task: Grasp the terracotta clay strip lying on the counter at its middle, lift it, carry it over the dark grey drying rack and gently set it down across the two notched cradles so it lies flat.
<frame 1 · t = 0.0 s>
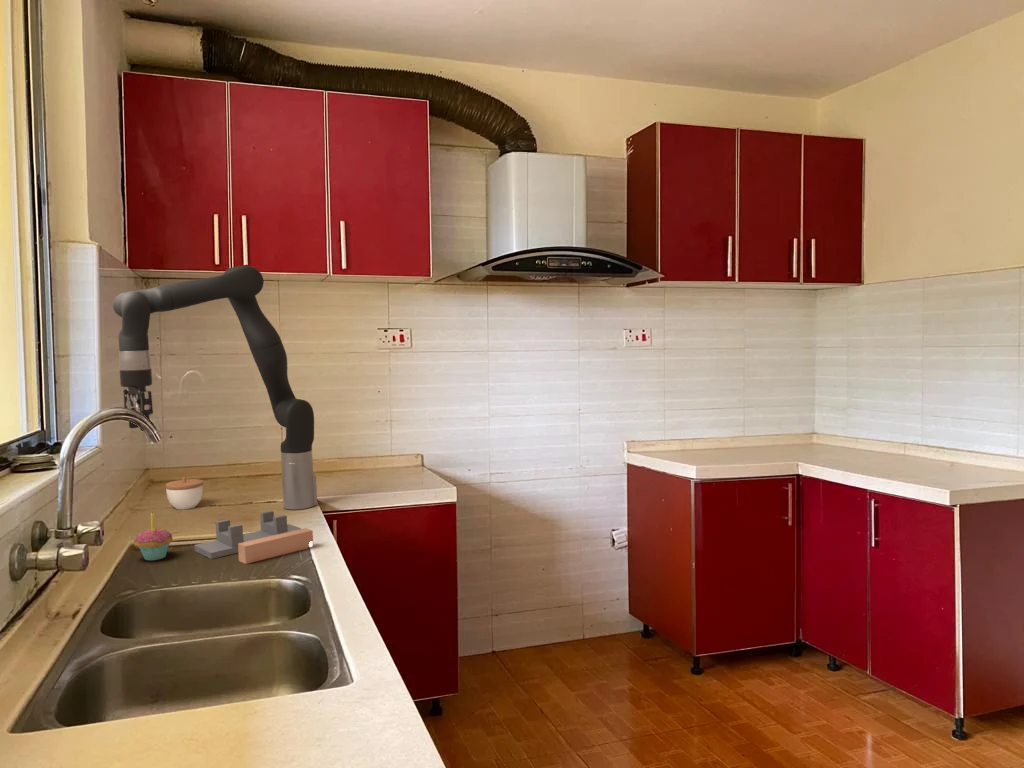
hand: (139, 429, 205), 29 cm above the worktop, fingers open, 8 cm apart
clay strip: (277, 554, 191), on the worktop
lidded jar: (185, 507, 242), on the worktop
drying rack: (252, 543, 200), on the worktop
cupcake: (154, 558, 190), on the worktop
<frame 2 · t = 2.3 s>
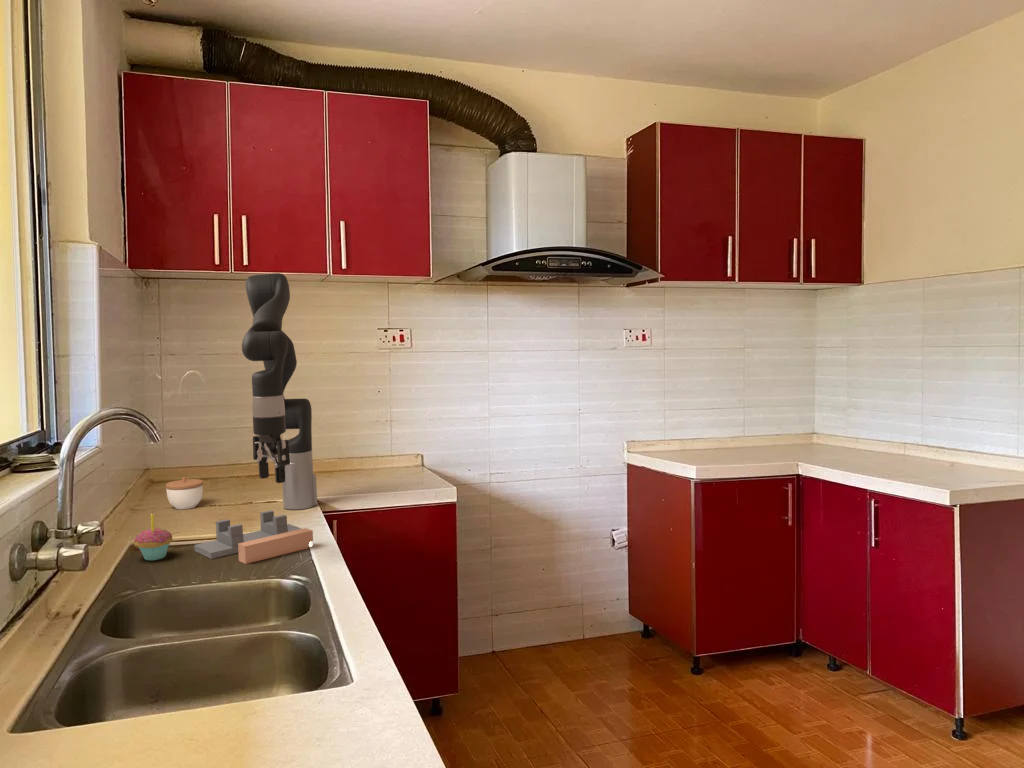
hand: (272, 480, 189), 18 cm above the worktop, fingers open, 8 cm apart
nothing on the worktop moved.
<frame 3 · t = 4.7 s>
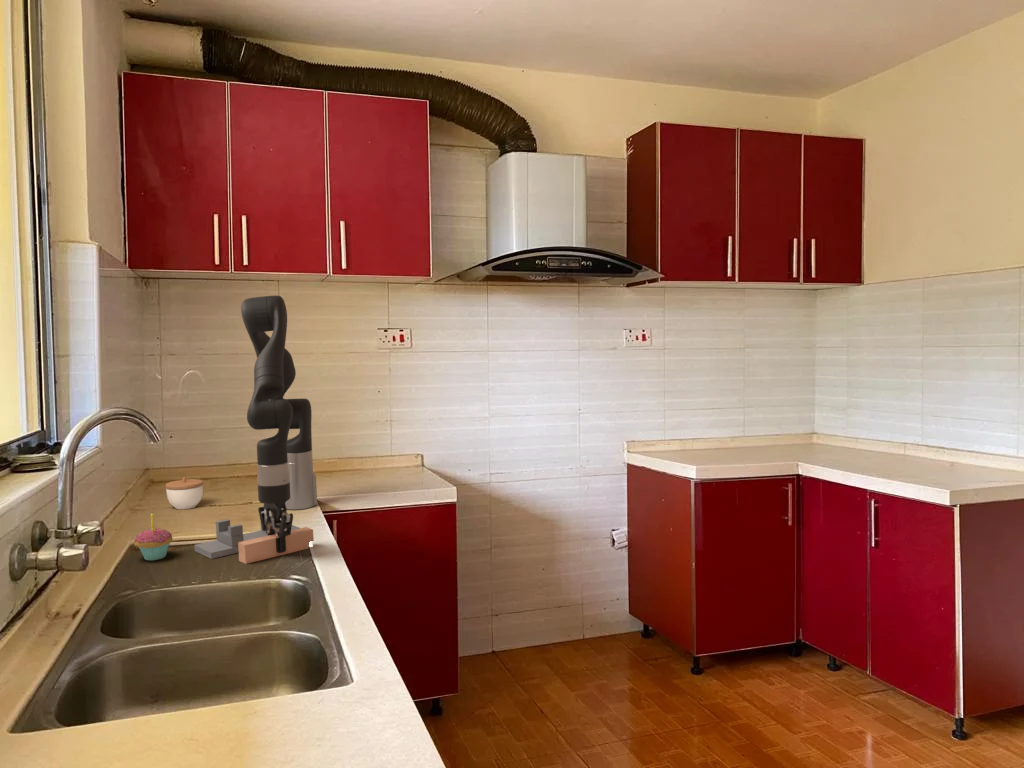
hand: (277, 550, 191), 1 cm above the worktop, fingers closed on clay strip, 3 cm apart
clay strip: (277, 553, 191), on the worktop, touching gripper
everything else where it was.
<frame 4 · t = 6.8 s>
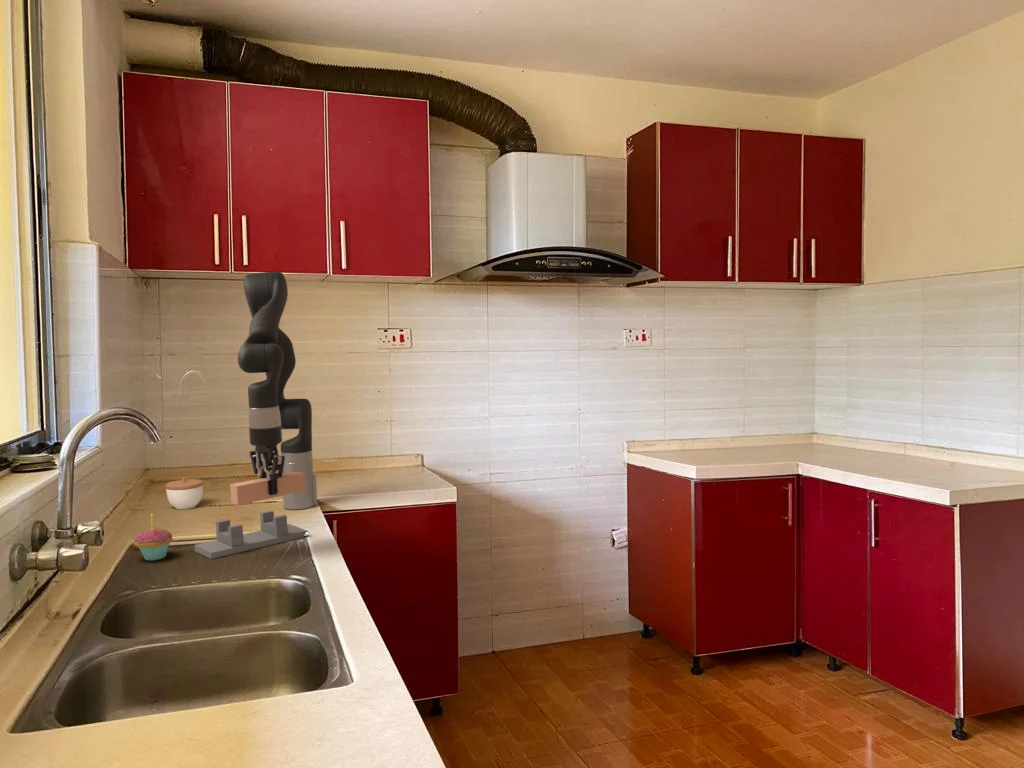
hand: (268, 492, 193), 14 cm above the worktop, fingers closed on clay strip, 3 cm apart
clay strip: (269, 496, 193), point 13 cm above the worktop, touching gripper
everything else where it was.
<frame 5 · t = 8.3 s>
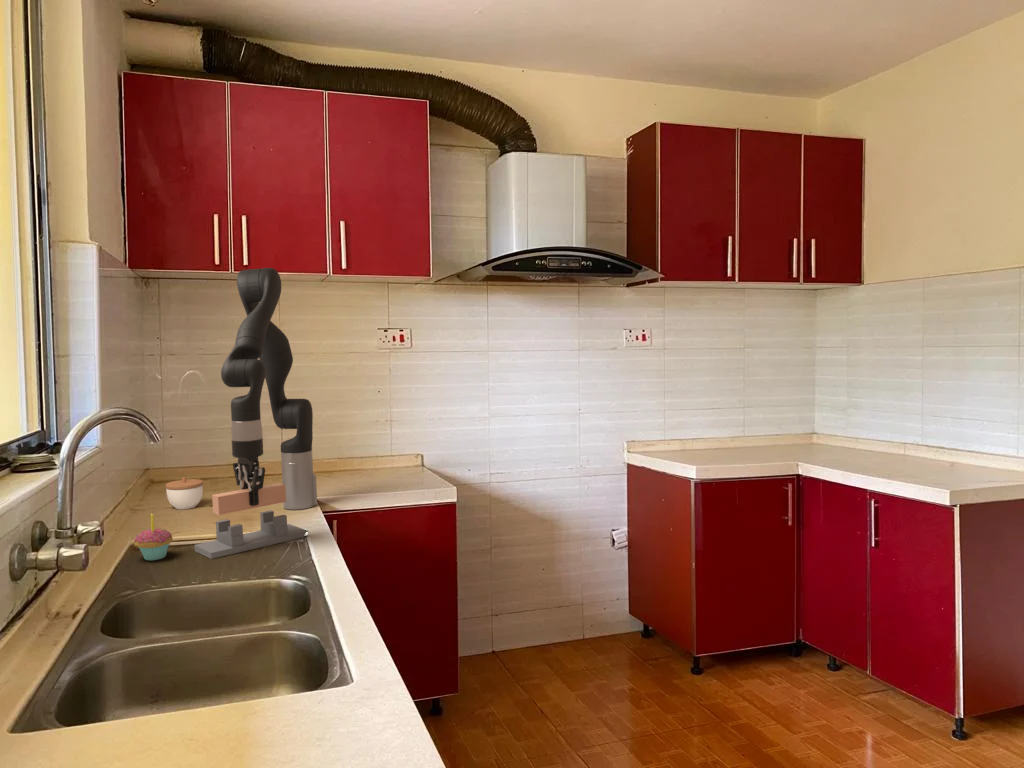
hand: (250, 503, 199), 10 cm above the worktop, fingers closed on clay strip, 3 cm apart
clay strip: (250, 507, 199), point 10 cm above the worktop, touching gripper
everything else where it was.
when the fingers open (6 cm above the worktop, at t = 9.3 s): clay strip drops 1 cm, resting on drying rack.
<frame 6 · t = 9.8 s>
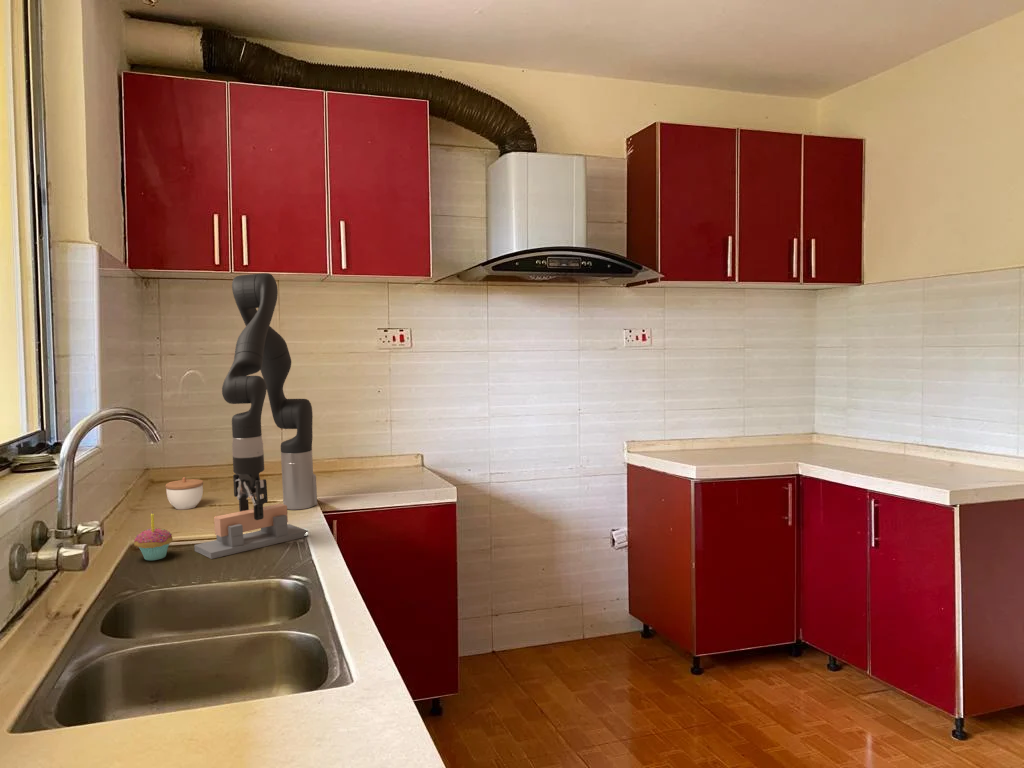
hand: (251, 516, 200), 7 cm above the worktop, fingers open, 8 cm apart
clay strip: (252, 528, 200), point 4 cm above the worktop, touching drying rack
everything else where it was.
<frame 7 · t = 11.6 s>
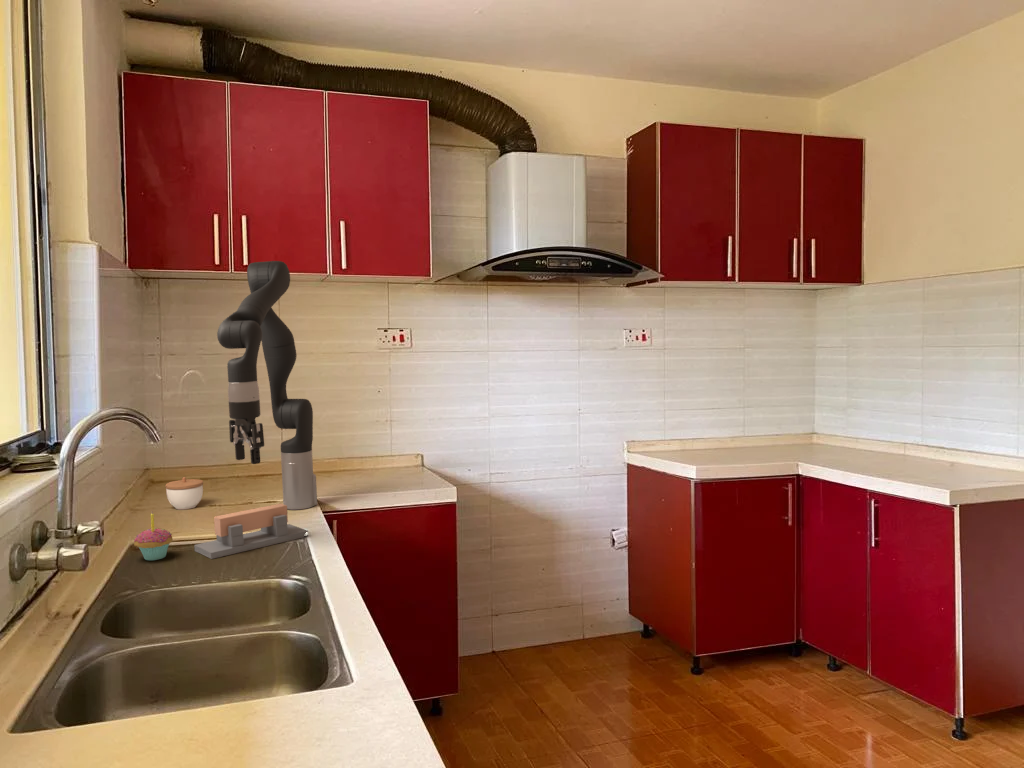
hand: (247, 461, 200), 21 cm above the worktop, fingers open, 8 cm apart
nothing on the worktop moved.
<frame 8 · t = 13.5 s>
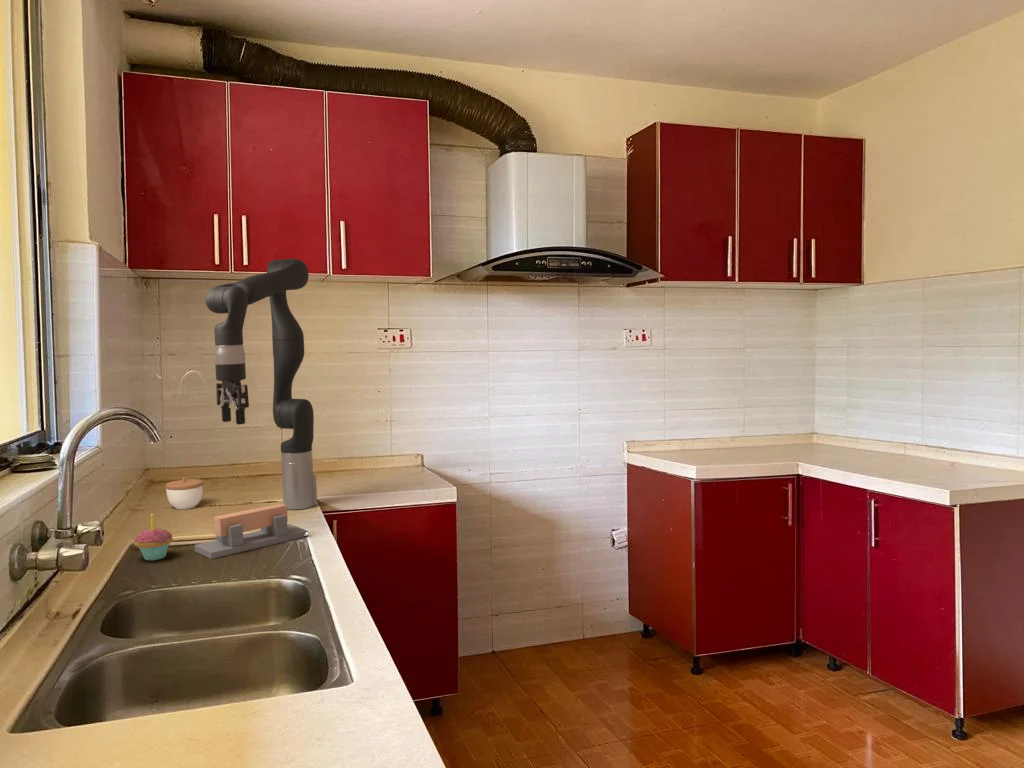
hand: (233, 422, 208), 30 cm above the worktop, fingers open, 8 cm apart
nothing on the worktop moved.
at the end: clay strip 0.1 cm off-centre on the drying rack, point 4.0 cm above the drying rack's base; clay strip tilted 0°; clay strip touching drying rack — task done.
